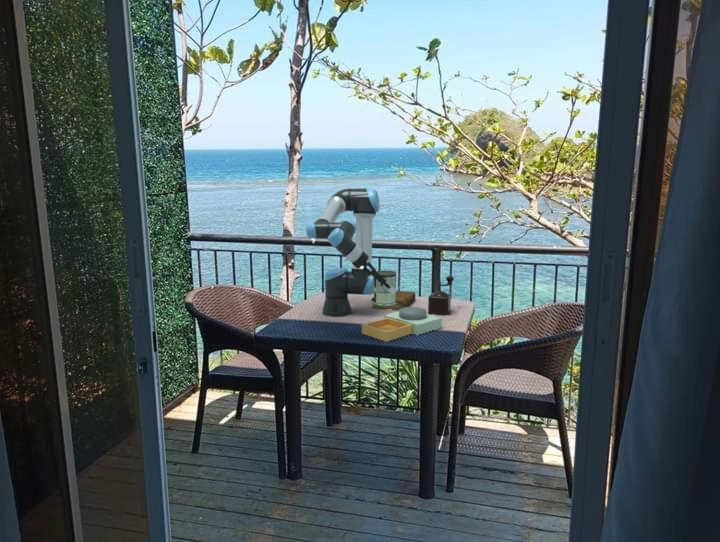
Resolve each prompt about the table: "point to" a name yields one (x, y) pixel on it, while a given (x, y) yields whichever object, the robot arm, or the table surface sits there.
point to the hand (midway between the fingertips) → (391, 289)
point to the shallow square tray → (386, 329)
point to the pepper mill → (440, 300)
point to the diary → (398, 301)
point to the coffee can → (381, 293)
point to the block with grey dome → (417, 319)
